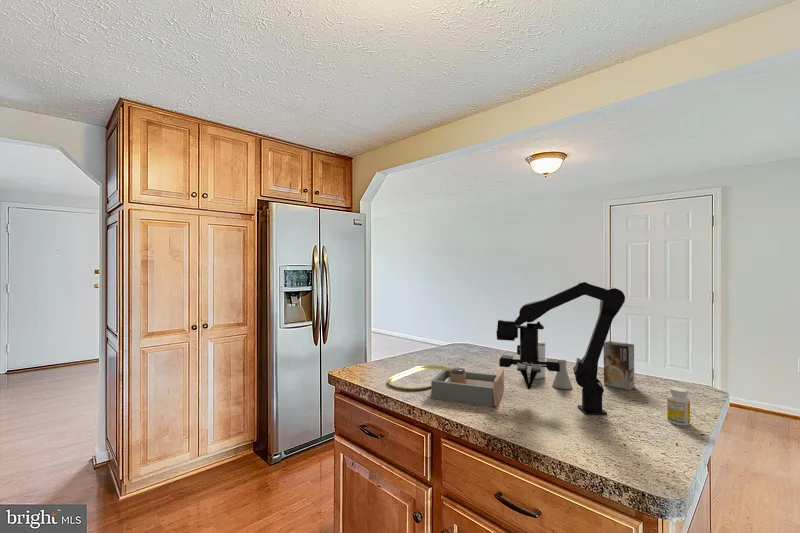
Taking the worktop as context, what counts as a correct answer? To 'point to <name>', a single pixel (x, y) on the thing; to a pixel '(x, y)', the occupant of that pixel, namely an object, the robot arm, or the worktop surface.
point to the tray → (490, 385)
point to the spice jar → (458, 375)
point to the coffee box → (619, 365)
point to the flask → (562, 377)
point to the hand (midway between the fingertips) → (529, 389)
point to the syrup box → (541, 358)
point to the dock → (463, 389)
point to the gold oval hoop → (413, 372)
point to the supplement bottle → (678, 407)
